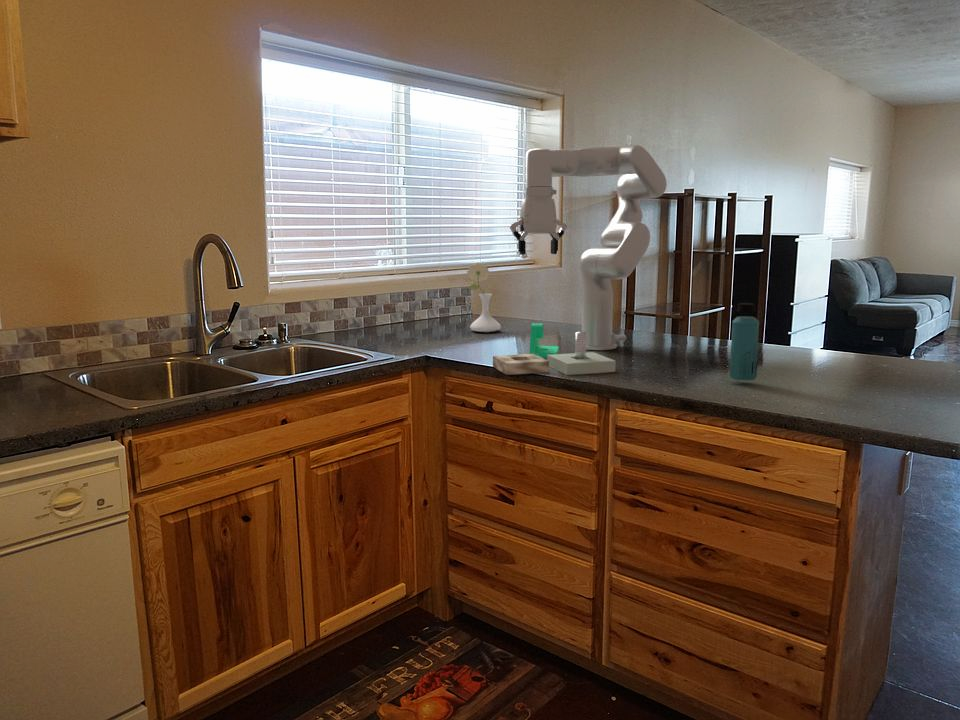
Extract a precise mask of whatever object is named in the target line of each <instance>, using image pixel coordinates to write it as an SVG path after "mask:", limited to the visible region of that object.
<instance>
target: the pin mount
mask: <svg viewBox="0 0 960 720" xmlns="http://www.w3.org/2000/svg"><path fill="white" fill-rule="evenodd" d="M492 367H493V368H494V369H496V370H498V371H499V372H501V373H502V374H505V375H507V376H509V375H526V374H527V375H528V374H539V373H541V374H542V373H550V367H549V361H548V360H547V359H544V358H542V357H540V356H537V355H535V354H529V353H522V354H521V353H519V354H505V355H504V354H503V355H493V356H492Z"/></svg>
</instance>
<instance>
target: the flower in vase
mask: <svg viewBox="0 0 960 720" xmlns="http://www.w3.org/2000/svg"><path fill="white" fill-rule="evenodd" d="M466 274H467V275H468V277H469V279H471V280H472V281H475V282H477V284H475V283H473V284H471V285H470V286H469V287H467V289H468V290H472V291H477V290H478V289H480V291H481V293H478V296H479V298H480V300H481V305H482V308H481V310H482V311H481V314H480V315H479V317H477V318H476V319H475V320H474V321H473V322H472V323H470V326H469V328H470V329H471V331H475V332H478V333H479V332H480V333H491V332H497V331H499V330H500V329H501V328H502V326H501V324H500V322H498V321H497V320H496V319H495V318H493V316H492V315H491V314H490V312H489V311H490V310H489V309H490V307H489V306H490V300H491V297H492V296H493V293H489V292H488V293H485V292H484V291H486V290H489V289H491V287H492V286H493V284H490V285H488V286H485V287H484V288H483V289H482V288H481V287H480V283H479V282H481V281H485V280H488V277H489V275H490V271H489V267H488V266H487V265H484V264H483V263H479V262H477V263H476V262H474V263H473V264H471V265H469V266H468V269H467V271H466Z"/></svg>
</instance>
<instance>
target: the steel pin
mask: <svg viewBox="0 0 960 720" xmlns="http://www.w3.org/2000/svg"><path fill="white" fill-rule="evenodd" d="M574 341H575V343H574V346H575V348H574V350H575V351H574V353H575V359H576V360H579V359H586V353H587V350H586V343H587V332H582V331H575V340H574Z"/></svg>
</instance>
